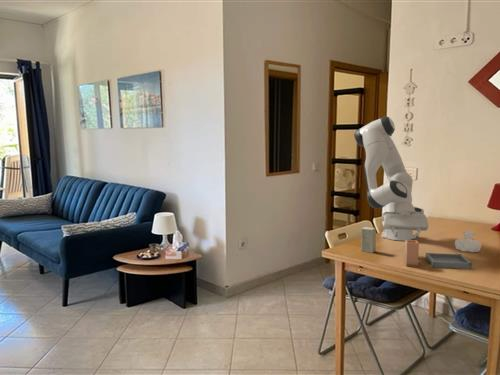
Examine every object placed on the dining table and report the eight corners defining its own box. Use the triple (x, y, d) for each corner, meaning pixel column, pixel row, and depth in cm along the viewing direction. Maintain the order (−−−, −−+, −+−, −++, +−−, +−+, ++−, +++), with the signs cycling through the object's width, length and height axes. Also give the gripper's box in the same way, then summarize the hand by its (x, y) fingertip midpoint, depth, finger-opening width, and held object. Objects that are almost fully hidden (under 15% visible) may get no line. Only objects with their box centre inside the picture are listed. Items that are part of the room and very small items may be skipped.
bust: (480, 256, 203) (481, 236, 208) (481, 250, 197) (482, 229, 202) (454, 253, 209) (455, 233, 214) (453, 247, 203) (455, 227, 208)
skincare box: (375, 251, 206) (376, 228, 205) (371, 253, 203) (372, 229, 202) (364, 249, 211) (364, 226, 209) (360, 251, 207) (360, 228, 206)
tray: (425, 257, 194) (425, 252, 194) (460, 259, 191) (461, 254, 191) (432, 267, 181) (433, 261, 180) (471, 268, 178) (471, 263, 177)
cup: (404, 262, 187) (405, 239, 186) (415, 263, 186) (416, 240, 185) (406, 266, 182) (407, 242, 181) (417, 266, 181) (418, 243, 180)
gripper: (382, 208, 197) (384, 232, 189) (427, 209, 193) (430, 234, 184) (381, 215, 202) (382, 239, 194) (424, 216, 198) (428, 241, 189)
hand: (406, 236), depth 189 cm, fingers open, 8 cm apart
